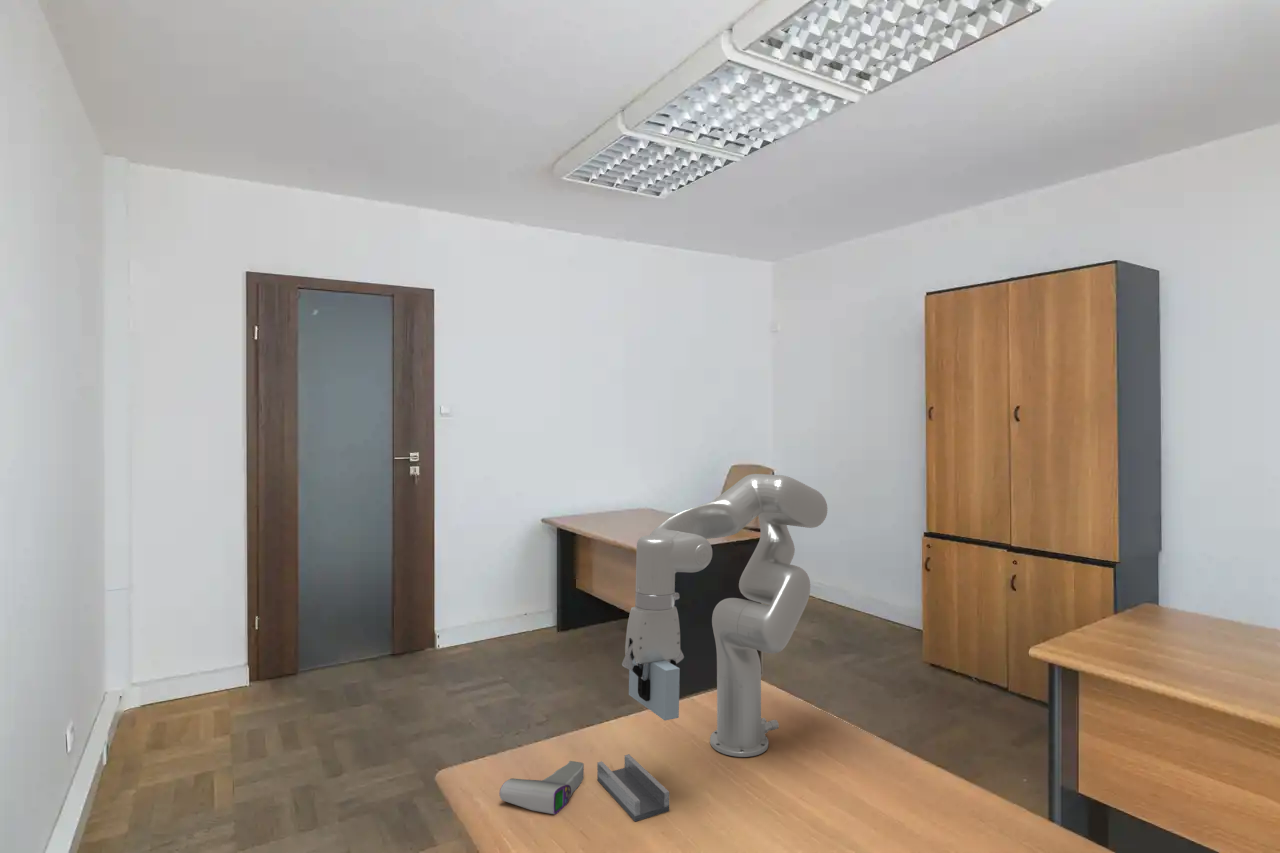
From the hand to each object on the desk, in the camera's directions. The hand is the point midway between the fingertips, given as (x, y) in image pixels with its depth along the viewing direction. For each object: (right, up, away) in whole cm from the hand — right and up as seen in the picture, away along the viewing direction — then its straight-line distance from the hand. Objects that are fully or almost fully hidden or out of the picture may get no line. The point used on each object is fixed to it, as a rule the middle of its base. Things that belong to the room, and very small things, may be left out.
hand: (652, 696), depth 131 cm
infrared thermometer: (-21, -19, 0) cm, 28 cm away
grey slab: (0, -2, 0) cm, 2 cm away
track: (-4, -18, -2) cm, 18 cm away
